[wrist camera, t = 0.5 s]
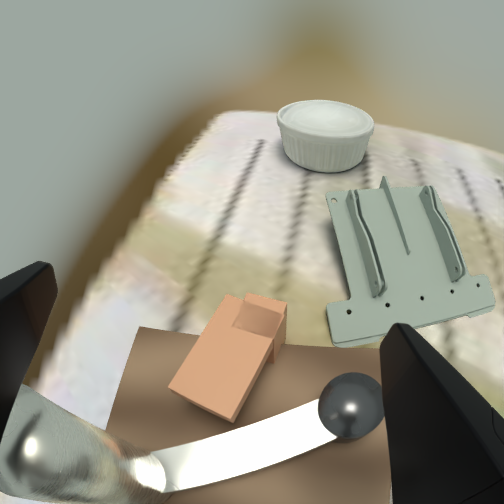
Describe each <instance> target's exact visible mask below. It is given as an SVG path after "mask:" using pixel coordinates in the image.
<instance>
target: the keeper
mask: <svg viewBox="0 0 504 504" xmlns="http://www.w3.org/2000/svg"><path fill="white" fill-rule="evenodd" d="M286 318H287V303H286V302H282V301H278V300H274V299H270V298H267V297H263V296H259V295H255V294H251V293H246V296H245V298H244V300H242V299H239V298H236V297H233V296H231V295H228V294H226V296H225V297H224V299H223V301H222V302H221V304H220V305H219V307H218V309H217V310H216V312H215V313H214V315H213V316H212V318H211V320H210V321H209V323H208V324H207V326H206V327H205V329H204V331H203V332H202V334H201V335H200V337H199V338H198V340H197V342H196V343H195V345H194V346H193V348H192V349H191V351H190V353H189V354H188V356H187V357H186V359H185V360H184V362H183V364H182V365H181V367H180V368H179V370H178V371H177V373H176V375H175V376H174V378H173V379H172V381H171V382H170V384H169V386H168V388H169V389H170V390H171V391H172V392H173V393H174V394H176V395H177V396H179V397H181V398H183V399H185V400H187V401H189V402H191V403H193V404H194V405H196V406H198V407H200V408H202V409H204V410H206V411H208V412H210V413H212V414H214V415H217V416H219V417H221V418H223V419H225V420H227V421H229V422H231V423H234V421H235V419H236V417H237V415H238V413H239V412H240V410H241V408H242V406H243V404H244V402H245V400H246V399H247V397H248V395H249V393H250V391H251V389H252V387H253V385H254V383H255V382H256V380H257V378H258V376H259V374H260V372H261V370H262V368H263V366H264V364H265V362H269V363H273V364H274V363H275V360H276V358H277V355H278V352H279V350H280V347H281V344H284V342H285V339H286Z"/></svg>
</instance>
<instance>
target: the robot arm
mask: <svg viewBox="0 0 504 504" xmlns="http://www.w3.org/2000/svg"><path fill="white" fill-rule="evenodd" d="M57 293H58V288H57V283H56V279H55V274H54V269H53V266H52V265H51V264H50V263H46V262H42V261H37V262H35V263H33V264H31V265H28V266H26V267H25V268H22V269H20V270H18V271H16V272H14V273H12V274H10V275H8V276H6V277H4V278H2V279H0V444H1V440H2V437H3V434H4V431H5V428H6V425H7V422H8V419H9V416H10V413H11V411H12V408H13V405H14V402H15V400H16V397H17V395H18V392H19V389H20V387H21V384H22V382H23V380H24V377H25V375H26V372H27V370H28V368H29V365H30V363H31V361H32V358H33V356H34V354H35V352H36V350H37V347H38V345H39V343H40V340H41V337H42V335H43V331H44V329H45V326H46V323H47V321H48V318H49V315H50V313H51V310H52V308H53V305H54V303H55V300H56V297H57ZM379 354H380V368H381V386H382V401H383V409H384V416H385V424H386V432H387V440H388V449H389V459H390V470H391V483H392V498H393V504H504V418H503V417H502V416H501V415H500V414H499V413H498V412H497V411H496V410H495V409H494V408H493V407H491V405H490V404H489V403H488V402H487V401H486V400H485V399H484V398H483V396H482V395H481V394H480V393H479V392H478V391H477V390H476V389H475V388H474V387H473V386H472V385H471V384H470V383H469V382H468V381H467V380H466V379H465V378H464V377H463V376H462V375H461V374H460V373H459V372H458V371H457V370H456V369H455V368H454V367H453V366H452V365H451V364H450V363H449V362H448V361H447V360H446V359H445V358H444V357H443V356H442V355H441V354H440V353H439V352H438V351H437V350H435V349H434V348H433V347H432V346H431V345H430V344H429V343H428V342H427V341H426V340H425V339H424V338H423V337H422V336H421V335H420V334H419V333H418V332H417V331H416V330H415V329H414V328H412V327H411V326H410V325H409V324H407V323H398V322H397V323H394V324H393V325H392V326H391V328H390V329H389V331H388V333H387V334H386V336H385V338H384V339H383V341H382V342H381V345H380V350H379Z"/></svg>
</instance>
